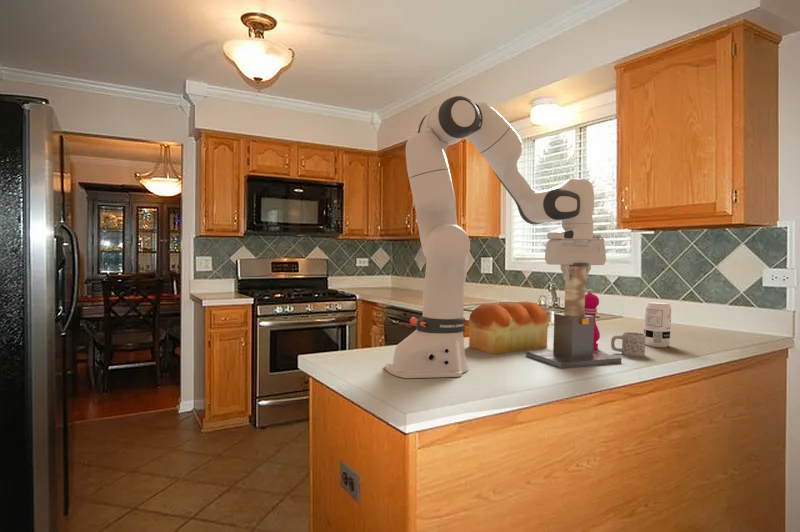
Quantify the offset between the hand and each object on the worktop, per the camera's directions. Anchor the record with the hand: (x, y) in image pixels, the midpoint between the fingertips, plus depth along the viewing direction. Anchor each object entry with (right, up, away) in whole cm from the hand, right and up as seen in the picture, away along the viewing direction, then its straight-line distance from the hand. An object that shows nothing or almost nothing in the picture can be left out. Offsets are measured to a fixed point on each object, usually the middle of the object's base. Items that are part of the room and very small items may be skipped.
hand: (575, 280), depth 147 cm
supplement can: (+38, -24, +26) cm, 52 cm away
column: (0, -16, +1) cm, 16 cm away
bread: (-16, -23, +18) cm, 34 cm away
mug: (+21, -24, +11) cm, 33 cm away
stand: (0, -24, +1) cm, 24 cm away
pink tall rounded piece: (+11, -24, +18) cm, 32 cm away
